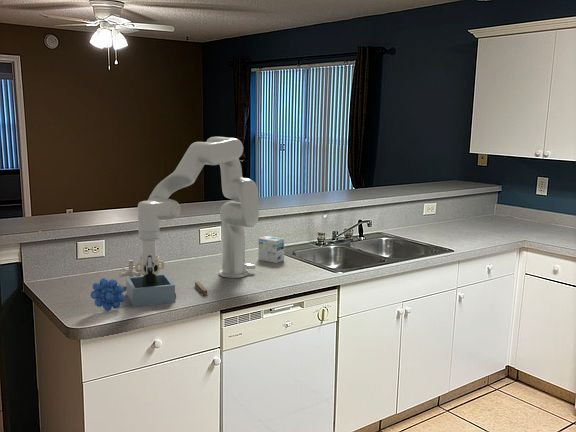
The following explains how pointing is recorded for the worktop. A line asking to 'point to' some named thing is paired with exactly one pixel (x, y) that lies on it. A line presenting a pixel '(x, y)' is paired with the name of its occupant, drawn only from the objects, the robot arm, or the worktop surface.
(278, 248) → the light bulb box
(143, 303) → the bin
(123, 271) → the pipe connector
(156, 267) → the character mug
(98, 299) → the blue flower
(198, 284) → the seat rails
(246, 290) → the worktop surface
